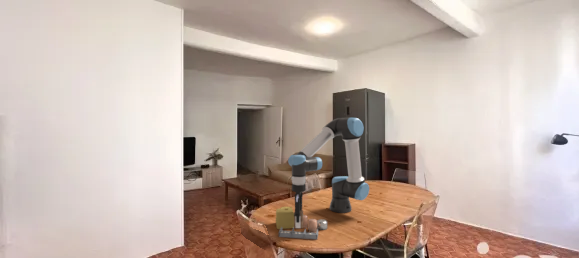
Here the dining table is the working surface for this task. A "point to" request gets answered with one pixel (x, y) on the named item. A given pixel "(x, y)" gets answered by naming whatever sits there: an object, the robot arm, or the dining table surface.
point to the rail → (298, 234)
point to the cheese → (285, 218)
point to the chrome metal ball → (321, 224)
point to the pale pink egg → (312, 225)
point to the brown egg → (305, 221)
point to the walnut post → (301, 219)
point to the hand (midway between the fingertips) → (298, 225)
